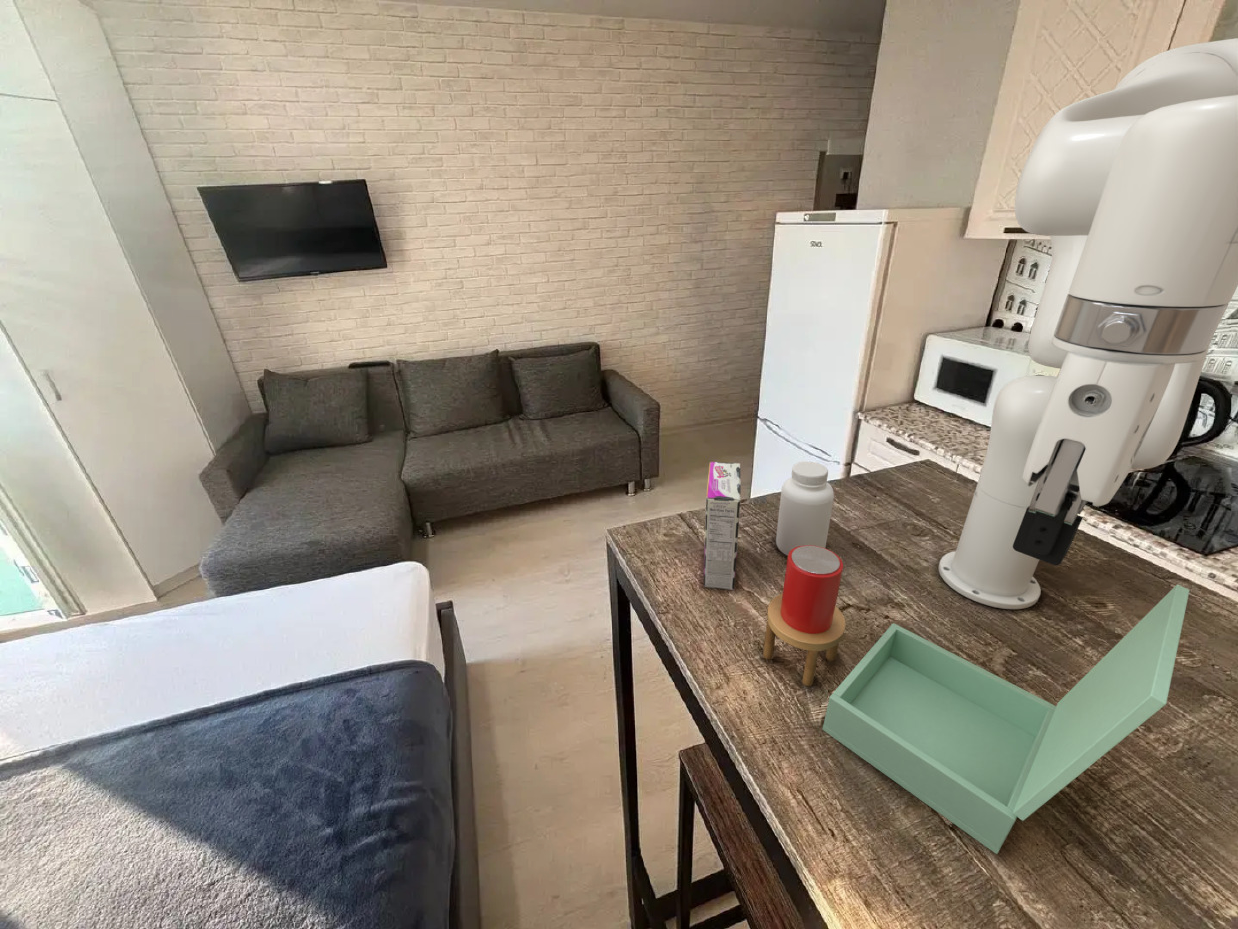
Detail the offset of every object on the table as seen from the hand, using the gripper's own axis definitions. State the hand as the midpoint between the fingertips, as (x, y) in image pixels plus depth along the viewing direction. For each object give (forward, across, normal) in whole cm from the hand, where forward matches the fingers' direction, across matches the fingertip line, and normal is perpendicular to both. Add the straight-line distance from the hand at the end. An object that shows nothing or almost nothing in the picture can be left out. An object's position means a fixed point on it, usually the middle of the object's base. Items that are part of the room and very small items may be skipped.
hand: (1037, 553), depth 42 cm
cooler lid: (+11, +1, -7) cm, 13 cm away
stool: (+26, -1, +18) cm, 32 cm away
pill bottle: (+26, +20, +31) cm, 45 cm away
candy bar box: (+26, +6, +37) cm, 45 cm away
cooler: (+26, 0, +2) cm, 26 cm away
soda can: (+19, -1, +18) cm, 26 cm away
